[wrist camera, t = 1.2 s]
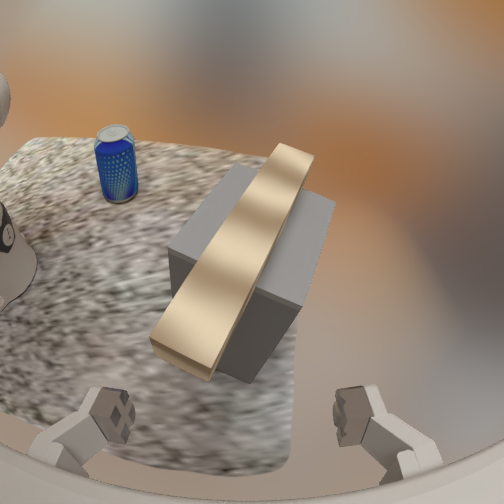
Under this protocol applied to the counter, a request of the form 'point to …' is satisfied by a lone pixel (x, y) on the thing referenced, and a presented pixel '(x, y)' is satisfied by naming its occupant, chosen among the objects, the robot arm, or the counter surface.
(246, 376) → the charcoal stand
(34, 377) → the counter surface
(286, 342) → the counter surface
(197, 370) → the maple bar
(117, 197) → the beer can
